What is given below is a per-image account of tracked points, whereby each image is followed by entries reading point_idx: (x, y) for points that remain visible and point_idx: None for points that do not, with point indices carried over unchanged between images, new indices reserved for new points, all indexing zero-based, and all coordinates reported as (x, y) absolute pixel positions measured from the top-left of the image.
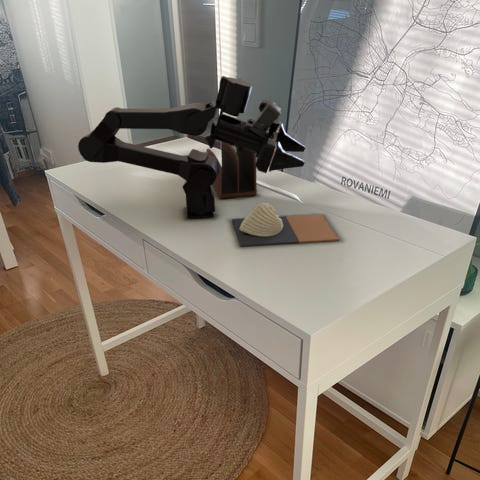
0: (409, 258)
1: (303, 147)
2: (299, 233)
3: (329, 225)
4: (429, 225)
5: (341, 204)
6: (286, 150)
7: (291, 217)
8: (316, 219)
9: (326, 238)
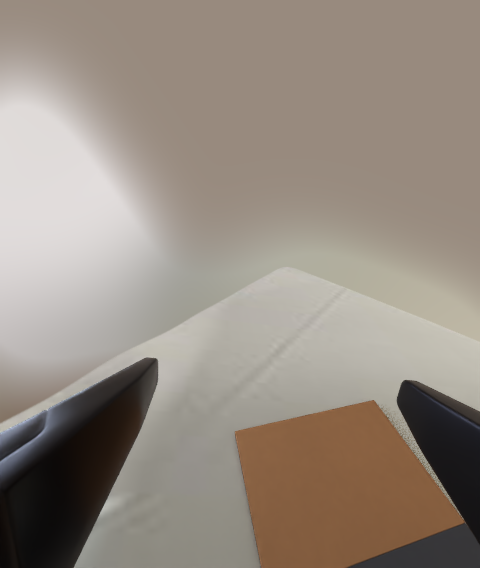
0: (375, 314)
1: (155, 367)
2: (405, 520)
3: (306, 415)
4: (257, 284)
5: (162, 378)
6: (81, 539)
7: (276, 559)
8: (276, 449)
9: (389, 429)
